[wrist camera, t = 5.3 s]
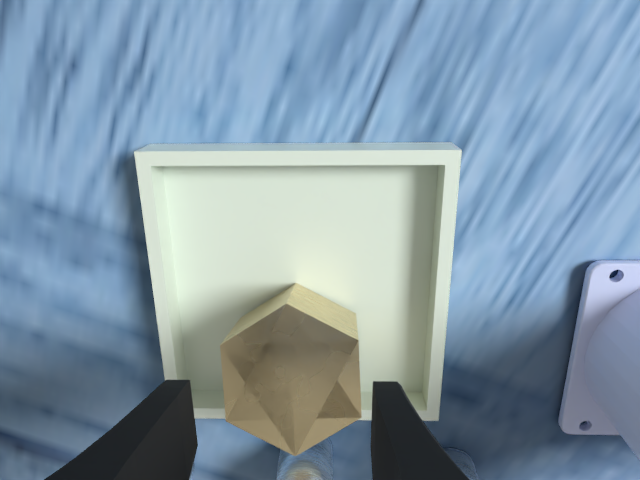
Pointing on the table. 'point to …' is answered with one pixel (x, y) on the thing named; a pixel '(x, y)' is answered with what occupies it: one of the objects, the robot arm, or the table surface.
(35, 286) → the table surface
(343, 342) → the wooden polyhedron
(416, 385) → the parts tray
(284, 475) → the spacer field
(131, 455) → the robot arm
